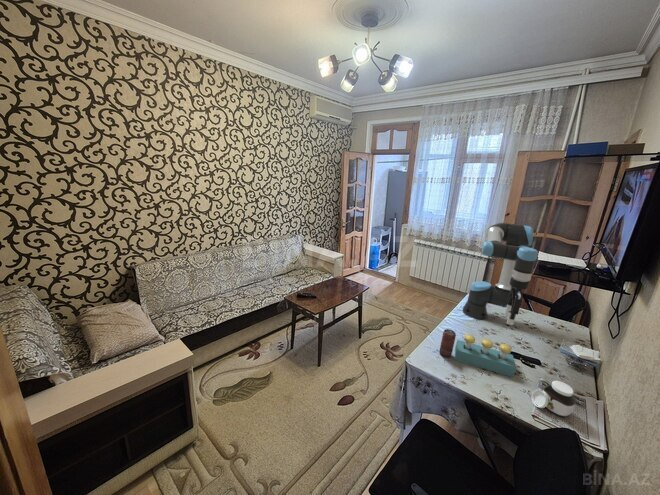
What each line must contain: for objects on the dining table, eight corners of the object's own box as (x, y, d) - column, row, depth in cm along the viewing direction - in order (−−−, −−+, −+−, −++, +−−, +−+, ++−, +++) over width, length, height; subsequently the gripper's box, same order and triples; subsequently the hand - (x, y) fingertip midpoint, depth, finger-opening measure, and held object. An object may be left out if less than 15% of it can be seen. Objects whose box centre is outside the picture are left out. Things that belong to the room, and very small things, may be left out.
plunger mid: (478, 349, 140) (481, 337, 138) (489, 352, 139) (492, 340, 136) (479, 355, 136) (482, 343, 134) (490, 358, 134) (493, 345, 132)
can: (436, 352, 145) (440, 330, 140) (445, 349, 147) (449, 327, 143) (444, 359, 139) (449, 336, 135) (453, 356, 142) (458, 334, 138)
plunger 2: (496, 354, 137) (499, 342, 135) (507, 357, 135) (510, 345, 133) (497, 360, 133) (501, 347, 131) (508, 363, 131) (512, 351, 129)
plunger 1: (462, 345, 143) (464, 333, 141) (472, 348, 142) (475, 335, 139) (462, 350, 139) (465, 338, 137) (472, 353, 137) (475, 341, 135)
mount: (455, 348, 148) (457, 339, 146) (509, 364, 138) (512, 354, 136) (455, 359, 139) (457, 350, 138) (513, 377, 129) (516, 367, 128)
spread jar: (573, 416, 110) (582, 394, 107) (556, 424, 106) (565, 401, 103) (542, 393, 121) (550, 372, 117) (525, 400, 117) (533, 378, 113)
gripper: (507, 270, 139) (497, 309, 146) (515, 284, 122) (502, 328, 129) (525, 273, 136) (513, 313, 143) (534, 288, 119) (521, 332, 126)
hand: (508, 320), depth 136 cm, fingers open, 7 cm apart
